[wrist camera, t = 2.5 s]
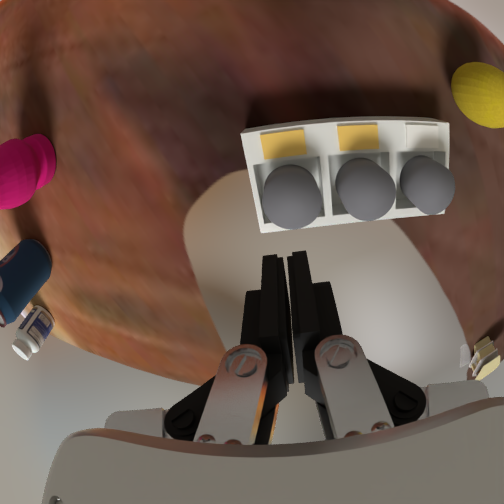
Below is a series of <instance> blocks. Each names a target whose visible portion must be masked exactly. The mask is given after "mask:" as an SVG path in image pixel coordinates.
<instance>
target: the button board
mask: <svg viewBox="0 0 504 504" xmlns="http://www.w3.org/2000/svg"><path fill="white" fill-rule="evenodd" d="M241 138H242V143H243V148H244V152H245V157H246V162H247V167H248V172H249V177H250V181H251V186H252V191H253V196H254V201H255V206H256V211H257V216H258V221H259V226H260V231H261V233H266V232H275V231H284V230H291V229H284V228H281V227H279V226H277V225H275V224H274V223H272V222H271V221H270V220H269V219H268V217H267V216H266V214H265V212H264V210H263V205H262V198H263V190H264V184H265V181H266V179H267V177H268V175H269V174H270V173H271V172H272V171H273V170H274V169H276V168H278V167H280V166H283V165H288V164H293V165H298V166H301V167H303V168H305V169H307V170H308V171H309V172H310V173H311V174H312V175H313V177H314V179H315V181H316V183H317V185H318V188H319V190H320V192H321V196H322V208H321V211H320V213H319V215H318V217H317V218H316V219H315V220H314V221H313V222H312V223H311V224H309V225H307V226H305V227H303V228H309V227H318V226H326V225H335V224H345V223H354V222H363V221H362V220H359V219H356V218H354V217H353V216H351V215H350V214H349V213H348V211H347V210H346V208H345V206H344V205H343V203H342V201H341V199H340V197H339V196H338V194H337V191H336V187H335V179H336V175H337V173H338V171H339V169H340V168H341V166H342V165H343V164H344V163H346V162H347V161H349V160H351V159H354V158H367V159H370V160H372V161H374V162H375V163H376V164H378V165H379V166H380V167H381V168H383V169H384V170H385V171H386V172H387V173H389V174H390V176H391V177H392V178H393V180H394V183H395V186H396V198H395V201H394V204H393V206H392V207H391V209H390V210H389V211H388V212H387V213H386V214H385V215H384V216H383V217H381V218H379V219H376V220H382V219H392V218H402V217H413V216H423V215H427V214H424V213H422V212H421V211H420V210H419V209H418V208H417V207H416V206H415V205H414V204H413V203H412V202H411V201H410V200H409V199H408V198H407V197H406V196H405V195H404V194H403V192H402V190H401V187H400V173H401V170H402V168H403V166H404V165H405V163H406V162H407V161H408V160H409V159H411V158H412V157H415V156H418V155H424V156H427V157H429V158H431V159H433V160H435V161H436V162H438V163H440V164H442V165H443V166H445V167H447V168H448V169H449V123H447V122H444V121H440V120H437V119H433V118H425V117H402V116H367V117H342V118H327V119H315V120H305V121H296V122H288V123H280V124H273V125H266V126H260V127H254V128H248V129H245V130H244V131H243V132H242V133H241ZM444 212H445V210H443V211H442V212H440V213H438V214H444ZM300 229H301V228H300Z"/></svg>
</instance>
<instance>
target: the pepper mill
mask: <svg viewBox="0 0 504 504" xmlns="http://www.w3.org/2000/svg"><path fill="white" fill-rule="evenodd" d="M55 169H56V156H55V152H54V148H53V146H52V144H51V142H50V141H49V140H48V138H47V137H46V136H44V135H42V134H34V135H32V136H29V137H27V138H24V139H23V140H20V139H10V140H8V141H7V142H5V143H3V144H1V145H0V209H11V208H15V207H18V206H20V205H22V204H24V203H26V202H27V201H28V200H29V199H30V198H31V197H32V196H33V194H34V192H35V190H37V189H39V188H41V187H42V186H44V185H46V184H47V183H49V182H50V181H51V179H52V178H53V176H54V173H55Z"/></svg>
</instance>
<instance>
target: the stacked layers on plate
mask: <svg viewBox="0 0 504 504" xmlns="http://www.w3.org/2000/svg"><path fill="white" fill-rule="evenodd" d="M470 361H471V354H470V350H469V347H468V345H467V343H466V344H465V345H463V346H461V349H460V368H462V367H463V366H465V365H467V364H469V363H470ZM499 364H500V356H498V350H497V349H496V350H495V348H494V342H493V341H491V340H490V338H489V337H488V336H487V337H486V338H484V339H482V340H481V341H479V342H478V343H476V344H475V346H474V357H473V359H472V361H471V363H470V366H469V367H470V368H472V370H473V376H476V375H477V377H476V379H475V380H481V379H483V378H484V377H485V376H487V375H488V374H489V373H491V372H492V371H493V370H495V369H496V368H497V367H498V366H499Z"/></svg>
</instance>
